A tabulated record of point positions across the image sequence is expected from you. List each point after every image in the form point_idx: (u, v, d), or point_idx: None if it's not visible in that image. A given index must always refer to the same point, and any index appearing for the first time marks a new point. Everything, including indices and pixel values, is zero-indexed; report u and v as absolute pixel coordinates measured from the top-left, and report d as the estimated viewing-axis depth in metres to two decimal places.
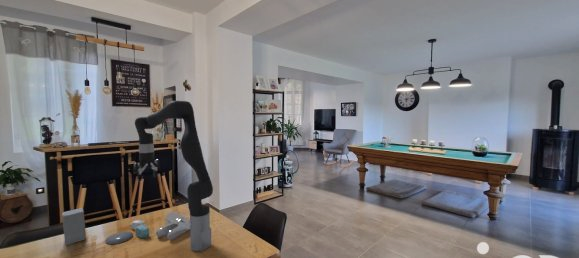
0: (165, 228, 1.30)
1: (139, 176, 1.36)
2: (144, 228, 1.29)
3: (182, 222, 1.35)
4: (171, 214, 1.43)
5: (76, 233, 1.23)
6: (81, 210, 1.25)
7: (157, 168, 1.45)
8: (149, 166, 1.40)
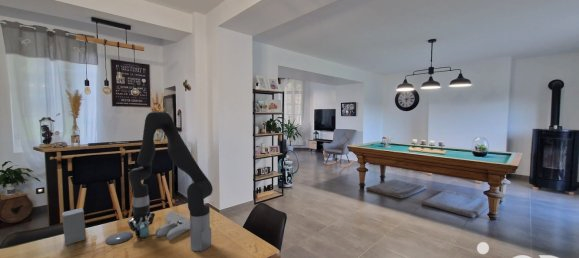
0: (164, 228, 1.30)
1: (137, 232, 1.28)
2: (144, 227, 1.29)
3: (181, 222, 1.35)
4: (171, 214, 1.43)
5: (76, 233, 1.23)
6: (81, 210, 1.25)
7: (148, 223, 1.33)
8: (142, 219, 1.30)
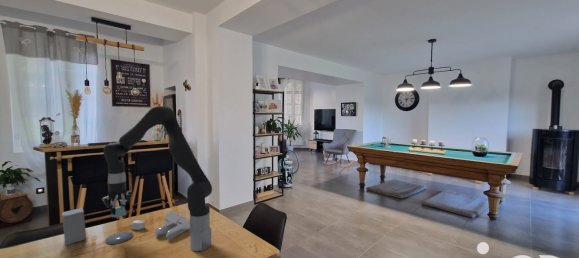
0: (164, 227, 1.31)
1: (113, 210, 1.24)
2: (119, 207, 1.26)
3: (181, 222, 1.35)
4: (170, 214, 1.43)
5: (76, 233, 1.23)
6: (81, 210, 1.25)
7: (125, 201, 1.29)
8: (118, 197, 1.26)
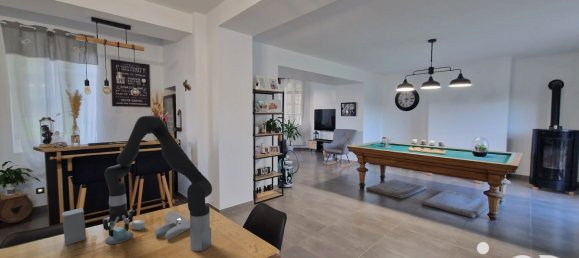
0: (163, 227, 1.31)
1: (110, 232, 1.23)
2: (121, 230, 1.26)
3: (180, 222, 1.35)
4: (170, 213, 1.44)
5: (76, 233, 1.23)
6: (81, 210, 1.25)
7: (129, 221, 1.31)
8: (120, 219, 1.27)
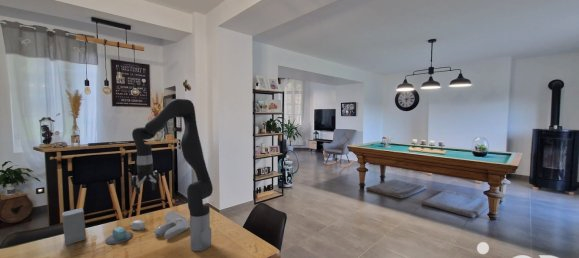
0: (163, 227, 1.31)
1: (137, 189, 1.30)
2: (121, 230, 1.26)
3: (180, 221, 1.35)
4: (170, 213, 1.44)
5: (76, 233, 1.23)
6: (81, 210, 1.25)
7: (156, 180, 1.39)
8: (148, 178, 1.34)
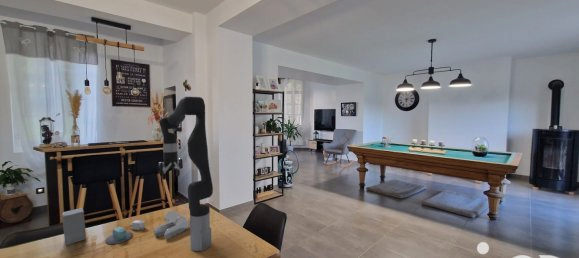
0: (163, 227, 1.31)
1: (163, 175, 1.38)
2: (121, 230, 1.26)
3: (180, 221, 1.36)
4: (170, 213, 1.44)
5: (76, 233, 1.23)
6: (81, 210, 1.25)
7: (180, 167, 1.47)
8: (172, 165, 1.43)
